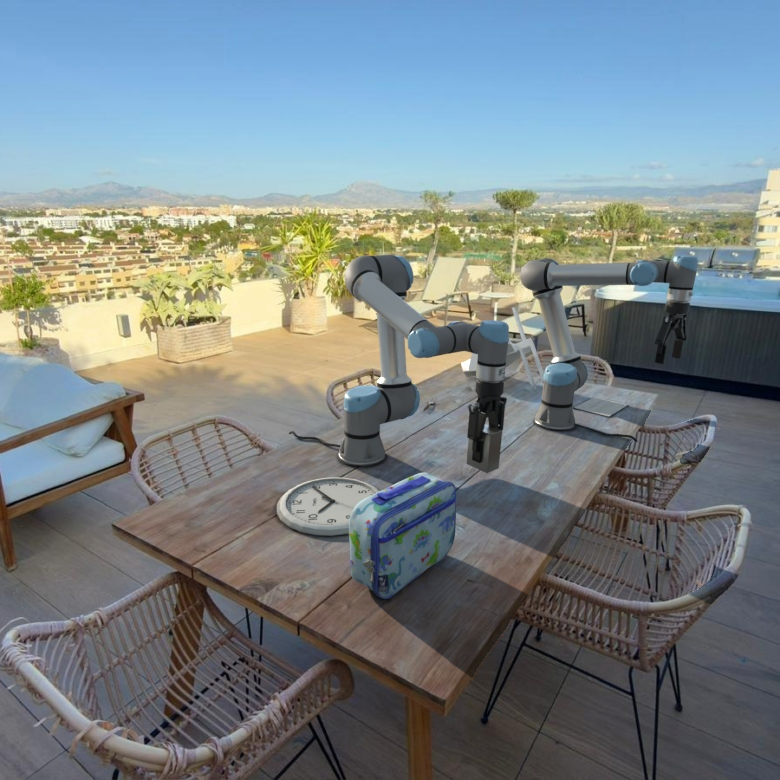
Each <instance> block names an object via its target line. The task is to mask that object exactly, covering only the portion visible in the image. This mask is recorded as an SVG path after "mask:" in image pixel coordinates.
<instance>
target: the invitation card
mask: <svg viewBox="0 0 780 780" xmlns="http://www.w3.org/2000/svg"><path fill="white" fill-rule="evenodd" d="M628 406H629V404H627V403H623V402H618V401H614V400H609V399H605V398H601V397H596V396H593V397H592V398H590V399H588V400H586V401H584V402H582V403H580V404H578V405H575V406H574V407H573V409H575V410H581V411H584V412H587V413H593V414H596V415H600V416H604V417H608V418H609V417H611V416H613V415H614V414H616V413H617V412H619V411H621V410H623V409H624V408H626V407H628Z"/></svg>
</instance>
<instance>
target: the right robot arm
mask: <svg viewBox="0 0 780 780" xmlns="http://www.w3.org/2000/svg"><path fill="white" fill-rule="evenodd" d="M698 262H699V259H698V257H697V256H694V255H675V256H674V257H673V259H672V260H668V261H667V260H654V259H653V260H651V259H650V260H649V259H638V260H636V261H633V262H607V263H606V262H605V263H577V264H576V263H575V264H574V263H572V264H571V263H570V264H559V262H557V260H554V259H552V258H547V257H546V258H545V257H544V258H540V259H539V258H538V259H532V260H529V261H528V262H526V263H525V264H524V265H523V266H522V268H521V270H520V273H519V279H520V283H521V284H522V285H523V287H524V288H526V289H527V290H529V291H531V293H532V296H533V298H534V299H536V300H537V301H538V304H539V307H540V311H541V316H542V319H543V323H544V327H545V330H546V331H545V332H546V335H547V339H548V342H549V345H550V351H551V353H552V359H551V361H550V364H549V365H547V366H546V367H545V369H544V382H542V394H541V402H540V405H539V407H538V410H537V411H536V413H535V417H534V424H535V425H536V426H537V427H539V428H542V429H544V430H549V431H556V432H567V431H572V430H574V429H575V428H580V429H584V430H587V431H591V432H594V433H597V434H599V435H601V436H604V437H605V436H606V437H620V438H629V439H631V440H633V441H634V442H636V443H638V440H637V438H635V436H633V435H631V434H621V433H606V432H604V431H600V430H597V429H595V428H591V427H588V426H584V425H582V424H578V423H576V418H575V417H576V416H575V413H574V407H573V405H574V398H575V392H576V391H578V390H579V389H581V388H582V387H583V386H584V385H585V383H587V380H588V377H589V369H588V367H587V365H586V364H585V362H583V360H582V356H581V354H580V353H578V352H577V351H576V350H575V346H574V345H575V344H574V341H573V338H572V334H571V330H570V326H569V323H568V322H569V321H568V318H567V313H566V310H565V307H564V303H563V299H562V296H561V293H562V291H563V290H564V287H572V286H573V287H581V286H582V287H585V286H639V287H646V286H649V285H651V284H652V283H655V284H656V283H657V284H668V289H667V293H666V300H667V301H666V302H665V306H664V312H665V313H668V315H667V316H663V317H662V318H663V319H662V323H661V325H660V328H659V330H658V334H657V335H656V338H655V341H654V345H657V348H656V353H655V359H654V363H656V364H661V365H664V364H665V363H664V362H665V356H666V352H667V343H668V341H669V339H670V337H671V335H672V333H673V331H674V334H675V339H674V341H673V348H672V353H671V358H672V359H673V358H674V359H678V360H679V359H681V356H682V351H683V345H684V341H685V342H686V341H687V340H688V314H689V312H690V307H691V303H690V302H691V300H692V297H693V296H694V292H693V291H694V286H695V281H696V276H697V271H698V264H699V263H698Z"/></svg>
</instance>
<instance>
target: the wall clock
mask: <svg viewBox="0 0 780 780" xmlns="http://www.w3.org/2000/svg"><path fill="white" fill-rule="evenodd" d="M380 491H381V490H380V489H379V488H377V487H376V486H374V485H372V484H371V483H369V482H365V481H362V480H359V479H355V478H349V477H338V476H337V477H335V476H333V477H332V476H331V477H322V478H317V479H312V480H307V481H305V482H302V483H299V484H297V485H295V486H293V487H292V488H290V489H288V490H287V491H286V492H285V493H284V494H283V495H281V496H280V498H279V499H278V502H277V503H276V515H277V517H278V518H279V520H280V521H281V522H282V523H283V524H285V525H286V526H287V527H288V528H290V529H293V530H295V531H297V532H299V533H303V534H308V535H312V536H327V537H328V536H329V537H331V536H332V537H333V536H342V535H349V520H350V515H351V513H352V511H353V509H354V507H355V506H356V505H357V504H358V503H359V502H360V501H362V500H363V499H365V498H367V497H370V496H372V495H374V494H376V493H378V492H380Z"/></svg>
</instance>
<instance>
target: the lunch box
mask: <svg viewBox="0 0 780 780" xmlns="http://www.w3.org/2000/svg"><path fill="white" fill-rule="evenodd" d="M456 524H457V489H456V486H455V484H454V483H453V482H452V481H445V480H442V479H440V478H439V477H436V476H434V475H433V474H431V473H429V472H426V471H425V472H424V471H423V472H419V473H416V474H413V475H411V476H409V477H407V478H405V479H403V480H401V481H400V480H399V481H398V482H396V483H395V484H392V485H390V486H388V487H385V488H383V489H382V490H380V492H378V493H376V494H374V495H372V496H370V497H367V498H365V499H363V500H362V501H360V502H359V503H358V504H357V505H356V506H355V507H354V509H353V511H352V513H351V515H350V520H349V534H348V542H349V543H348V544H349V568H350V575H351V577H352V579H353V581H355V582H356V583H359V584H361V585H362V586H364V587H366V588H367V589H369V590H370V591H372V592H373V593H374V595H375V596H377V597H378V598H380V599H384V600H387V599H390V598H392V597H394V596H395V595H396V594H397V593H398V592H400V591H401V590H403V589H404V588H405V587H406V586H407V585H410V584H411V583H412V582H413V581H414V580H416V579H417V578H418V577H419V576H421V575H422V574H423V573H425V571H427V570H428V569H429V568H431V567H433V566H435V565H436V564H438V563H439V562H441V561H442V560H443V559H445V558H446V557H447V556H448V554H449V552H450V551H451V550H452V547H453V545H454V542H455V539H456V538H455V536H456V526H457V525H456Z"/></svg>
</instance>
